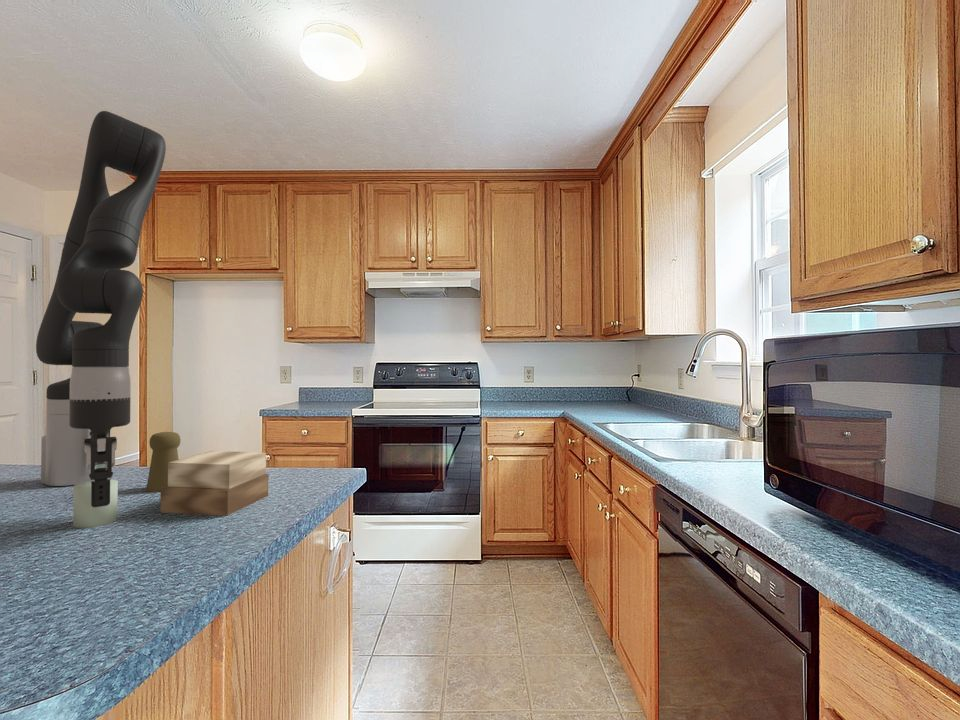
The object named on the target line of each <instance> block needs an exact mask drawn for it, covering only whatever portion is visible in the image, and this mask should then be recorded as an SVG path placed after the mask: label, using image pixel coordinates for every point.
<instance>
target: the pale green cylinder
mask: <svg viewBox="0 0 960 720" xmlns="http://www.w3.org/2000/svg"><path fill="white" fill-rule="evenodd" d="M118 488H119V481H118V479H113V478H111V480H110V504H109V505H107V506H101V507H92V506H91V481H87V482H82V483H78V484H76V485H73V504H72V505H73V510H72V515H73V516H72V526H73V527H74V528H79V529H82V528H83V529H86V528H87V529H88V527H89V528H96V527H101V526H106V525H110V524H112V523H114V522H116V521H117V520H118V510H119V509H118V504H119V503H118V502H119V501H118V500H119V499H118V497H119V493H118V491H119V489H118Z"/></svg>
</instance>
